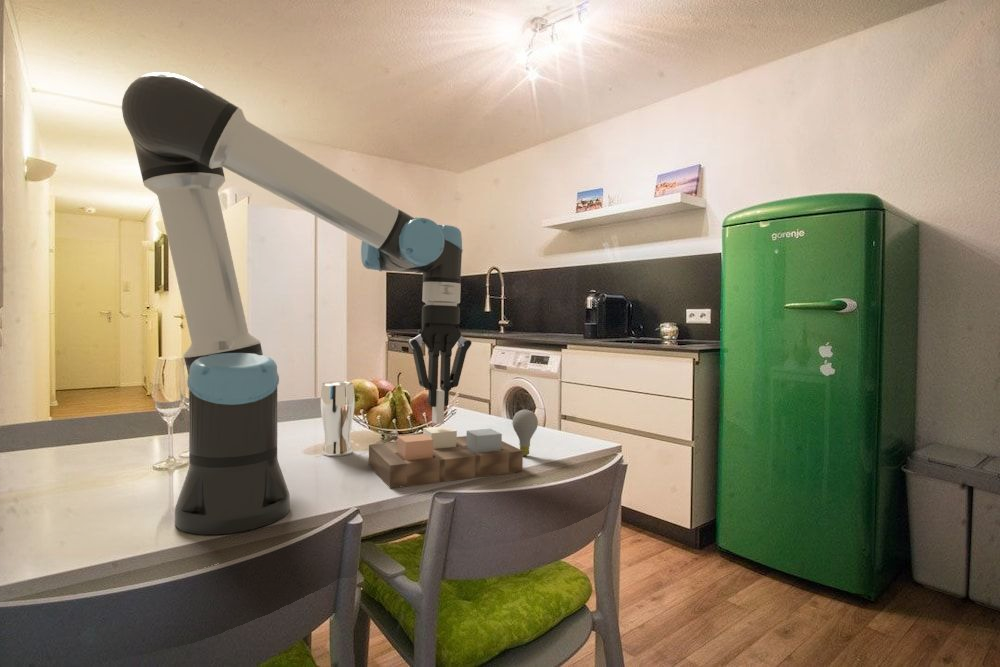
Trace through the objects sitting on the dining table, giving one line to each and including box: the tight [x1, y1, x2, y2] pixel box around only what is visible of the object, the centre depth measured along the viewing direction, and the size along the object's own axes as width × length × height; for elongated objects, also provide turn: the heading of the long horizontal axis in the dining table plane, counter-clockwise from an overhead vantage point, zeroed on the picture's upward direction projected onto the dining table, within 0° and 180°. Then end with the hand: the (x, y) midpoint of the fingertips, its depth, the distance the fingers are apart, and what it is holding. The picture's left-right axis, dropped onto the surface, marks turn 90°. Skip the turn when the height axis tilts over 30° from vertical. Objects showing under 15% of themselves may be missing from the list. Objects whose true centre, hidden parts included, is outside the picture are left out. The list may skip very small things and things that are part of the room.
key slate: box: [466, 428, 503, 453], centre depth 106 cm, size 5×5×5 cm
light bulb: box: [511, 409, 539, 457], centre depth 116 cm, size 6×5×10 cm
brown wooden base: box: [368, 435, 524, 489], centre depth 106 cm, size 26×16×4 cm, turn 116°
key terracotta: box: [397, 433, 433, 461], centre depth 100 cm, size 5×5×5 cm
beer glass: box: [320, 381, 356, 457], centre depth 116 cm, size 7×7×15 cm
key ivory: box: [422, 425, 458, 449], centre depth 109 cm, size 5×5×5 cm
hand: (437, 422), depth 108 cm, fingers closed
